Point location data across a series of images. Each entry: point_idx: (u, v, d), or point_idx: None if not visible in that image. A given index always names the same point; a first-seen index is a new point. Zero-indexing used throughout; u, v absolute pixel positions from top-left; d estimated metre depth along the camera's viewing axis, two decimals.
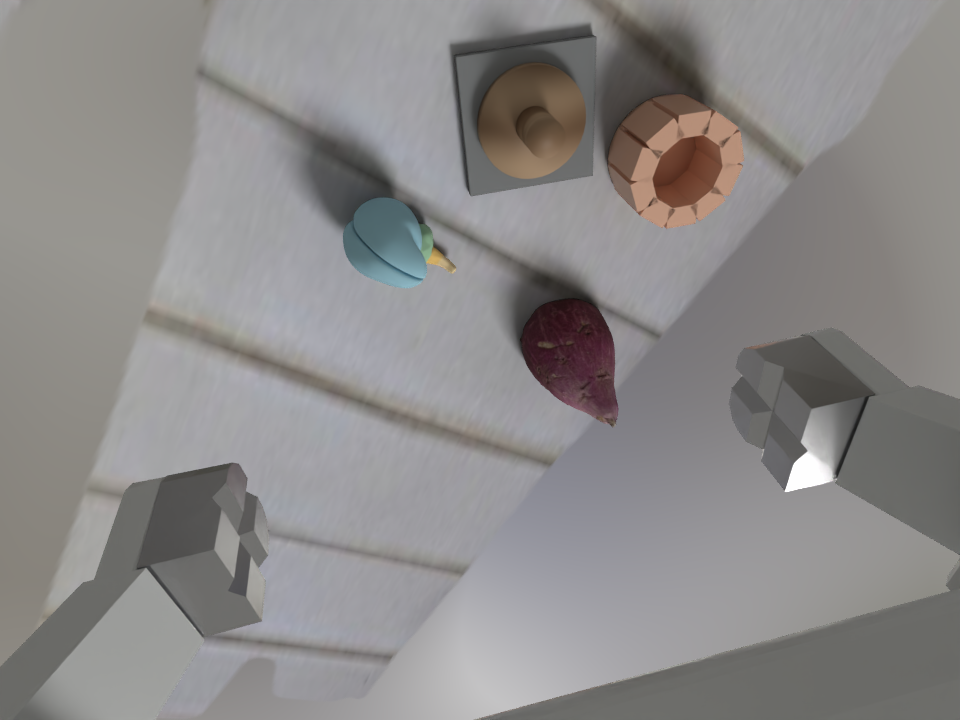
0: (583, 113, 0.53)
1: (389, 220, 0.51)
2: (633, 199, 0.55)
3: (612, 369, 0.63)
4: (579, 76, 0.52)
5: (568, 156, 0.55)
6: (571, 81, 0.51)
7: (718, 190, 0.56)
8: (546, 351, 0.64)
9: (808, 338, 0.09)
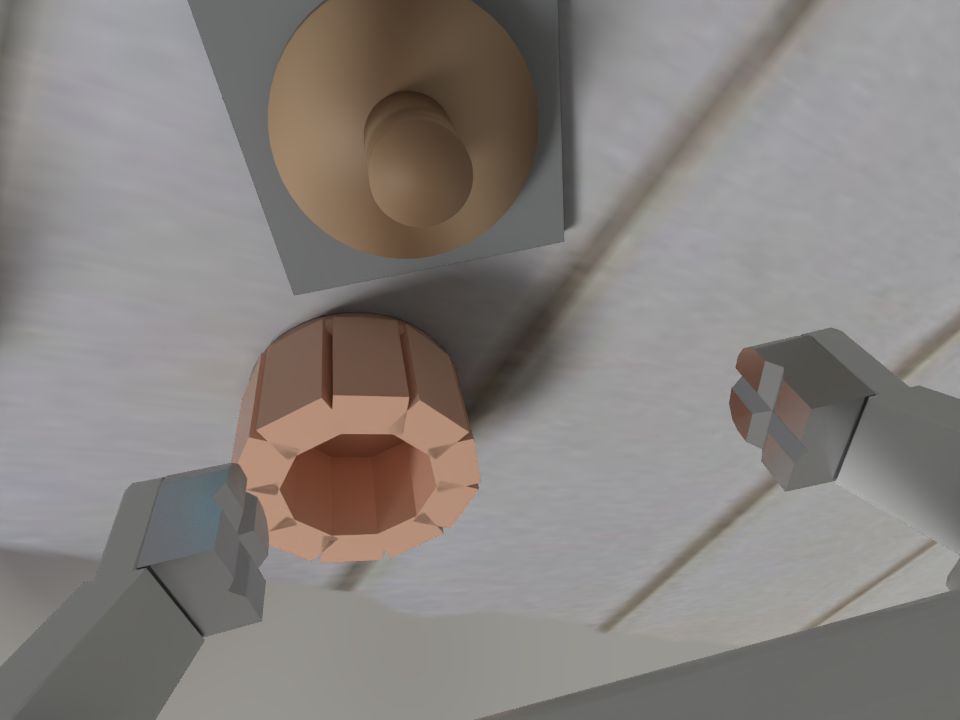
0: (437, 249, 0.24)
1: None
2: (285, 411, 0.23)
3: None
4: (497, 224, 0.26)
5: (341, 236, 0.23)
6: (502, 211, 0.24)
7: (329, 544, 0.28)
8: None
9: (808, 338, 0.09)
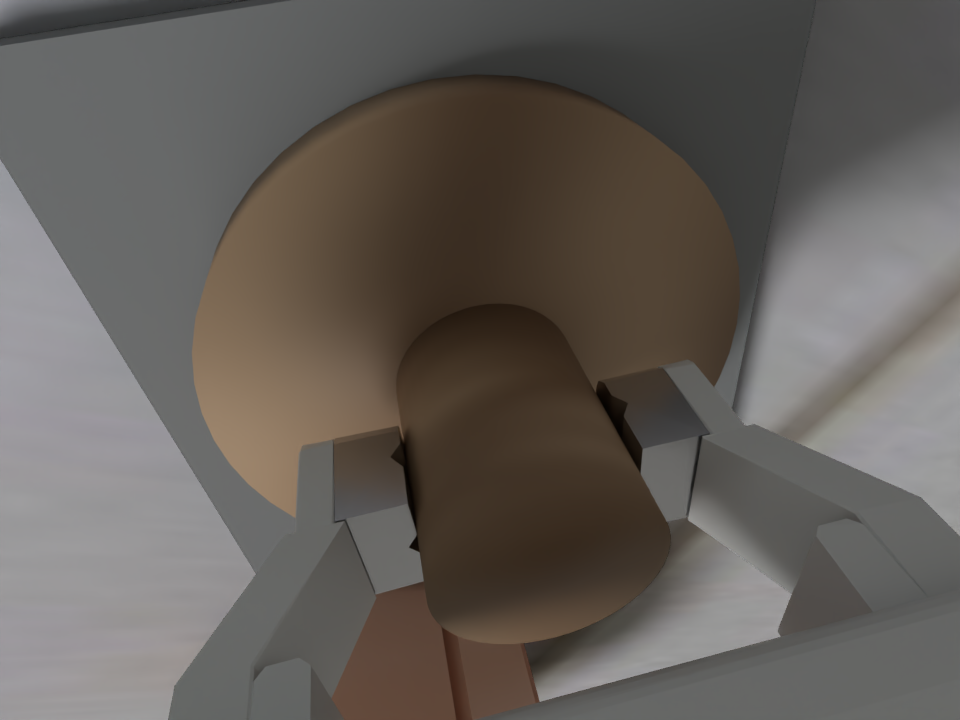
0: None
1: None
2: None
3: None
4: None
5: None
6: None
7: None
8: None
9: (660, 371, 0.09)
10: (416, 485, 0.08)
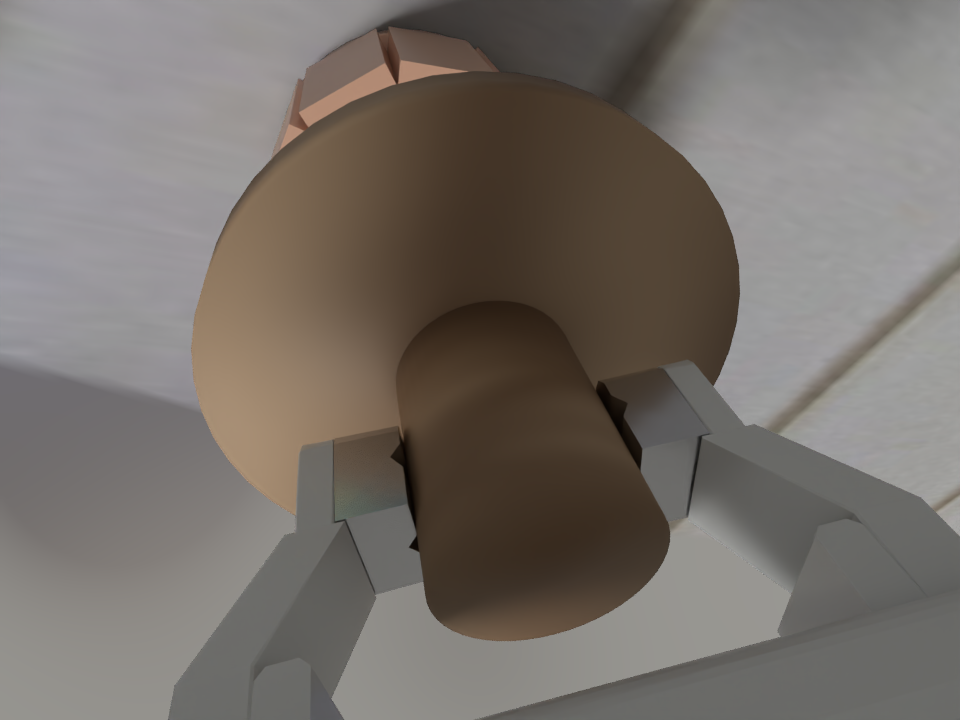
0: None
1: None
2: (336, 88, 0.18)
3: None
4: None
5: None
6: None
7: None
8: None
9: (659, 371, 0.09)
10: (415, 482, 0.08)
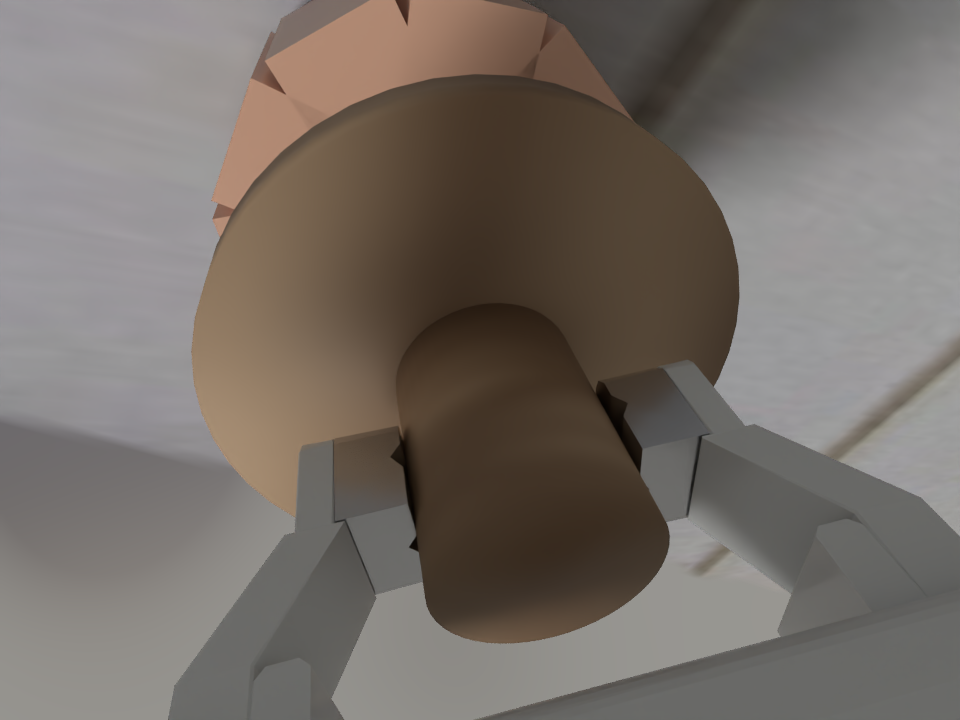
0: None
1: None
2: (319, 27, 0.12)
3: None
4: None
5: None
6: None
7: None
8: None
9: (660, 371, 0.09)
10: (415, 484, 0.08)
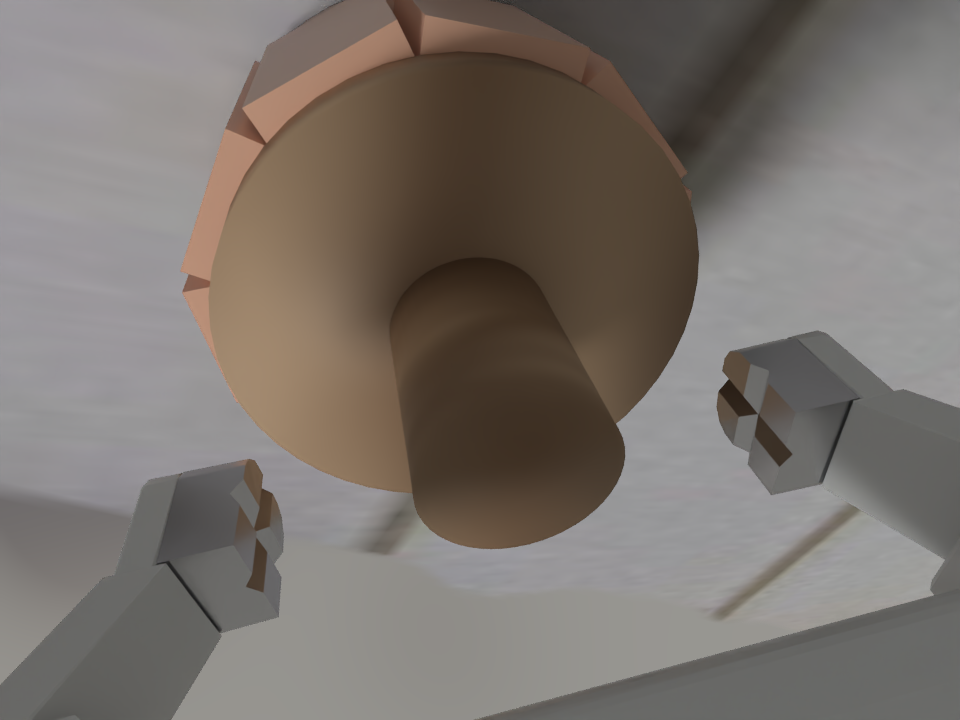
0: None
1: None
2: (309, 66, 0.10)
3: None
4: None
5: (346, 473, 0.14)
6: (614, 419, 0.14)
7: None
8: None
9: (794, 340, 0.09)
10: (405, 407, 0.09)
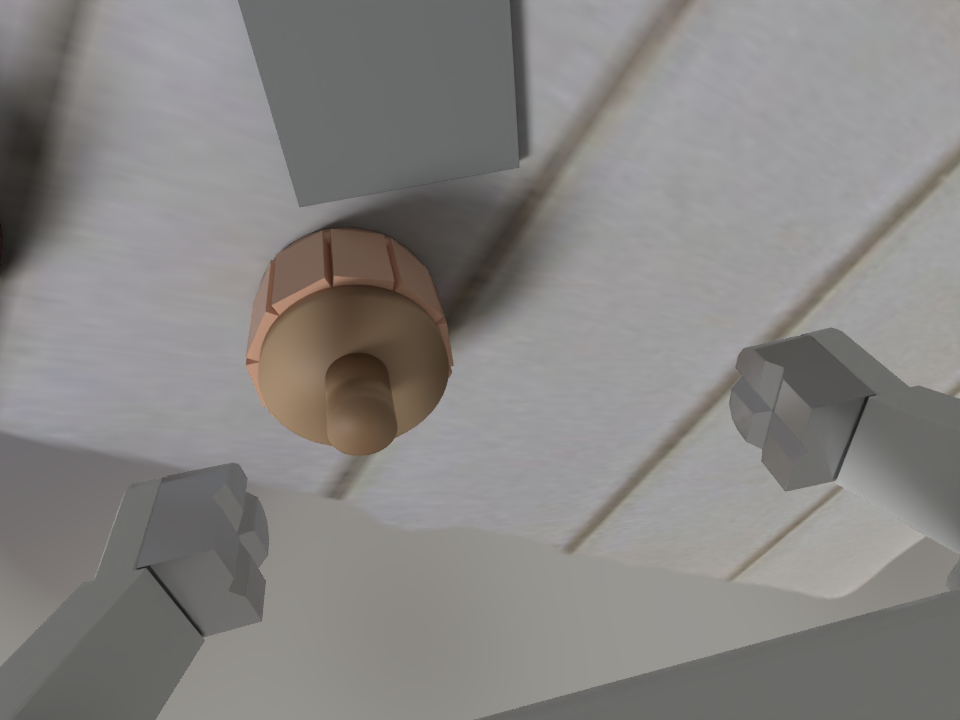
0: None
1: None
2: (294, 290, 0.29)
3: None
4: (465, 150, 0.32)
5: (309, 437, 0.32)
6: (426, 413, 0.33)
7: None
8: None
9: (808, 338, 0.09)
10: (326, 407, 0.28)
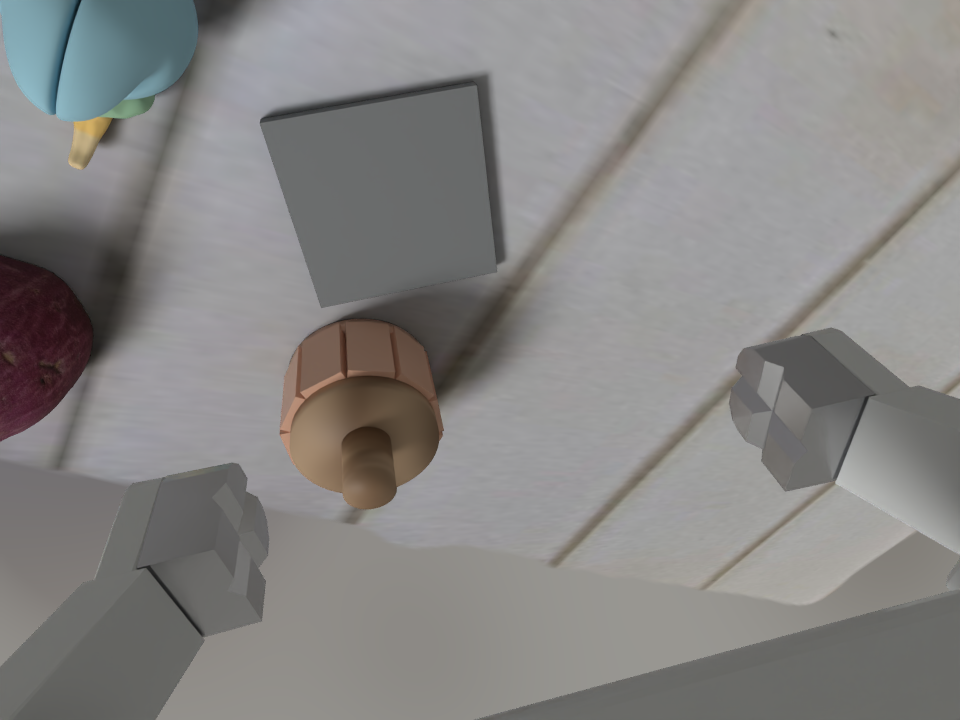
0: None
1: (168, 27, 0.25)
2: (317, 381, 0.37)
3: None
4: (452, 261, 0.40)
5: (329, 487, 0.41)
6: (422, 468, 0.42)
7: None
8: None
9: (808, 338, 0.09)
10: (342, 472, 0.37)
